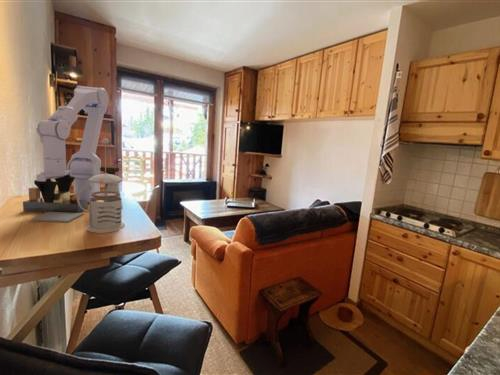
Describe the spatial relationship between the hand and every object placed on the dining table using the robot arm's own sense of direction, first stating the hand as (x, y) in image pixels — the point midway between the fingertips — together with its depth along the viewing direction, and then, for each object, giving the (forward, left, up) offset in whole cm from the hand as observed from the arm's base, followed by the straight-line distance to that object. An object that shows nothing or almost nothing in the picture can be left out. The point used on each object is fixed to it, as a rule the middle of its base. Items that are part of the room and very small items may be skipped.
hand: (56, 199), depth 82 cm
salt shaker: (+3, +18, -4) cm, 19 cm away
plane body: (0, 0, -3) cm, 3 cm away
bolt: (-5, +14, -4) cm, 16 cm away
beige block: (0, 0, 0) cm, 0 cm away
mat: (+8, +5, -3) cm, 10 cm away
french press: (+15, +20, -4) cm, 26 cm away
